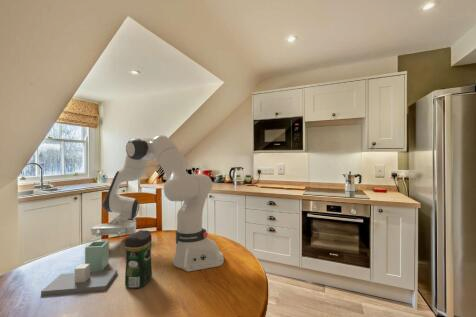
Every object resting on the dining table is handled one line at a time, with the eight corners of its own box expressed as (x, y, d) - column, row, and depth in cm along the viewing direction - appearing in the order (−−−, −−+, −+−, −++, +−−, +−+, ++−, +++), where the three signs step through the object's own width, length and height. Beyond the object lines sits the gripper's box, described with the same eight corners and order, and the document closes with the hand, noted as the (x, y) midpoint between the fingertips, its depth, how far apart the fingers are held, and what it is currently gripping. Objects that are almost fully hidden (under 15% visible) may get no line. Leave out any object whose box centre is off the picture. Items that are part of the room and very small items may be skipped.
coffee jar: (135, 274, 88) (136, 228, 88) (154, 275, 87) (155, 229, 87) (120, 289, 79) (120, 236, 78) (141, 290, 78) (141, 238, 78)
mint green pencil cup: (108, 263, 97) (108, 240, 97) (102, 270, 91) (102, 246, 91) (92, 264, 96) (92, 241, 96) (85, 272, 90) (85, 247, 90)
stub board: (117, 273, 89) (117, 257, 89) (105, 290, 78) (105, 271, 78) (61, 277, 85) (61, 261, 85) (41, 295, 74) (41, 276, 74)
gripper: (97, 220, 117) (84, 228, 104) (138, 219, 121) (131, 227, 107) (97, 231, 117) (84, 242, 104) (138, 230, 121) (130, 240, 107)
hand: (108, 234), depth 105 cm, fingers open, 8 cm apart
